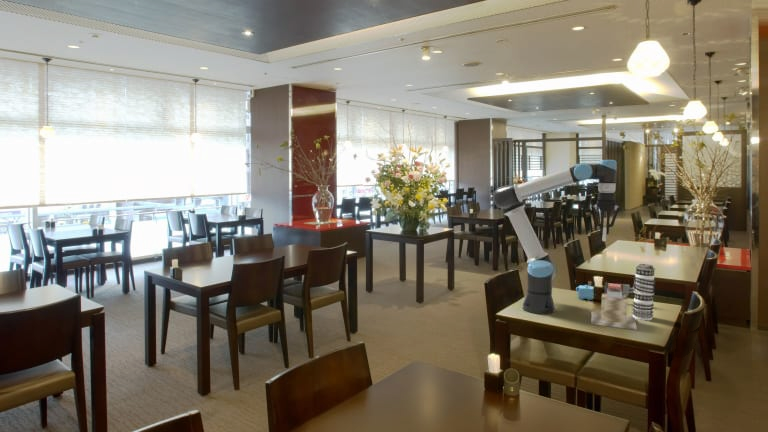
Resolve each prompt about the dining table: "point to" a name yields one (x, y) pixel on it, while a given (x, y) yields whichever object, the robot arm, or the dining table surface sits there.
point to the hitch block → (613, 312)
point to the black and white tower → (643, 292)
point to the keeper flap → (614, 286)
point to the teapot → (585, 292)
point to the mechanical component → (627, 289)
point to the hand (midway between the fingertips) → (604, 240)
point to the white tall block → (614, 293)
